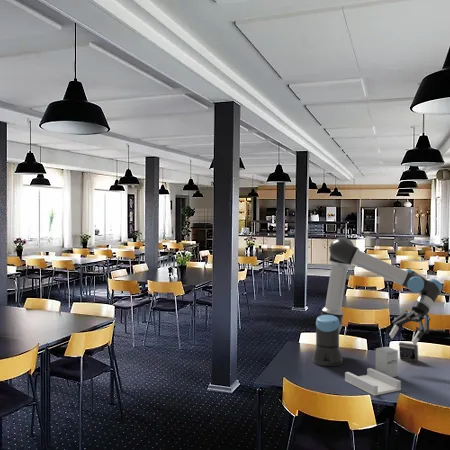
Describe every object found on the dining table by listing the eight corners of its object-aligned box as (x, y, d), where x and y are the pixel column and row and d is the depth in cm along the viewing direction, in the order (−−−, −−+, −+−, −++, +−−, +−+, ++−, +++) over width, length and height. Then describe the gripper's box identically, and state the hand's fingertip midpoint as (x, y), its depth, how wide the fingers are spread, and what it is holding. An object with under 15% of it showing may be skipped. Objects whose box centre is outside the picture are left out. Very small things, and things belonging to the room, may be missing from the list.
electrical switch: (418, 360, 241) (418, 343, 240) (416, 364, 237) (416, 346, 236) (400, 357, 246) (399, 340, 245) (397, 361, 242) (397, 344, 241)
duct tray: (345, 381, 211) (345, 372, 211) (370, 376, 217) (370, 367, 217) (374, 395, 194) (374, 386, 194) (400, 390, 200) (400, 381, 200)
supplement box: (386, 379, 214) (386, 352, 213) (375, 374, 220) (375, 348, 220) (398, 376, 217) (398, 350, 217) (386, 371, 224) (386, 346, 223)
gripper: (448, 315, 221) (427, 351, 214) (405, 306, 243) (385, 338, 236) (441, 305, 218) (420, 341, 211) (398, 297, 240) (378, 329, 233)
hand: (401, 339), depth 223 cm, fingers open, 13 cm apart
